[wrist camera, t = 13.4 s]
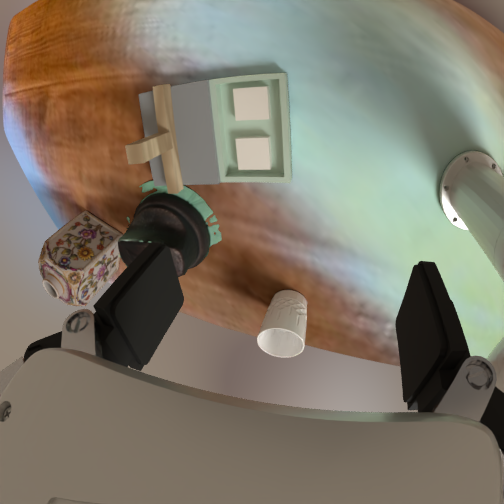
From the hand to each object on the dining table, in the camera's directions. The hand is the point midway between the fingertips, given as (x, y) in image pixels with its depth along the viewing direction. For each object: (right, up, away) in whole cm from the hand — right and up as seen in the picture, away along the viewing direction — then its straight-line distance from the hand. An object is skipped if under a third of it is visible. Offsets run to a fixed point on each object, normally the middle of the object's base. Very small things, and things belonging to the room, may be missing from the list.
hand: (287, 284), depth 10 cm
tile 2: (-1, +14, +26) cm, 30 cm away
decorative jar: (-35, +4, +46) cm, 58 cm away
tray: (-1, +18, +26) cm, 32 cm away
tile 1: (-1, +20, +22) cm, 30 cm away
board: (-11, +19, +28) cm, 36 cm away
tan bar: (-13, +17, +26) cm, 34 cm away
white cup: (+6, -8, +42) cm, 43 cm away
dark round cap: (-16, +5, +40) cm, 43 cm away
